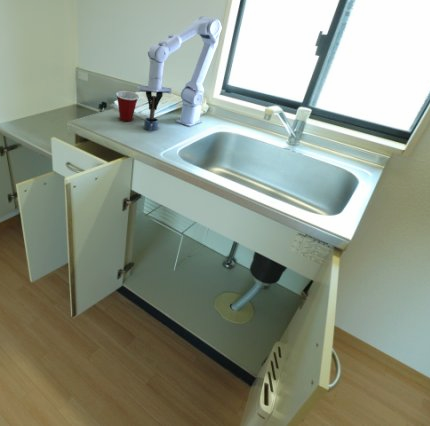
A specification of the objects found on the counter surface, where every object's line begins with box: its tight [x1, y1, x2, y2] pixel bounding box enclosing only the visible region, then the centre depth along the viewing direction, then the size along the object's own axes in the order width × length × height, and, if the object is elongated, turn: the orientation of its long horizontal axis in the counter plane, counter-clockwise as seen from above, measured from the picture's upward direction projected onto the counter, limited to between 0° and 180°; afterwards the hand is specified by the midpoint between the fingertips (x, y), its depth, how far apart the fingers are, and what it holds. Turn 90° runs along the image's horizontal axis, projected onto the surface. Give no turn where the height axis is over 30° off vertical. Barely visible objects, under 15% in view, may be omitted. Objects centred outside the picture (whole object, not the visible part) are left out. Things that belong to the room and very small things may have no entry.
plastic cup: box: [115, 90, 140, 122], centre depth 154 cm, size 11×11×12 cm
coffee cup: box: [143, 116, 159, 132], centre depth 148 cm, size 9×6×4 cm
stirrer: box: [149, 95, 156, 120], centre depth 145 cm, size 2×2×10 cm
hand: (152, 109), depth 145 cm, fingers closed on stirrer, 2 cm apart
